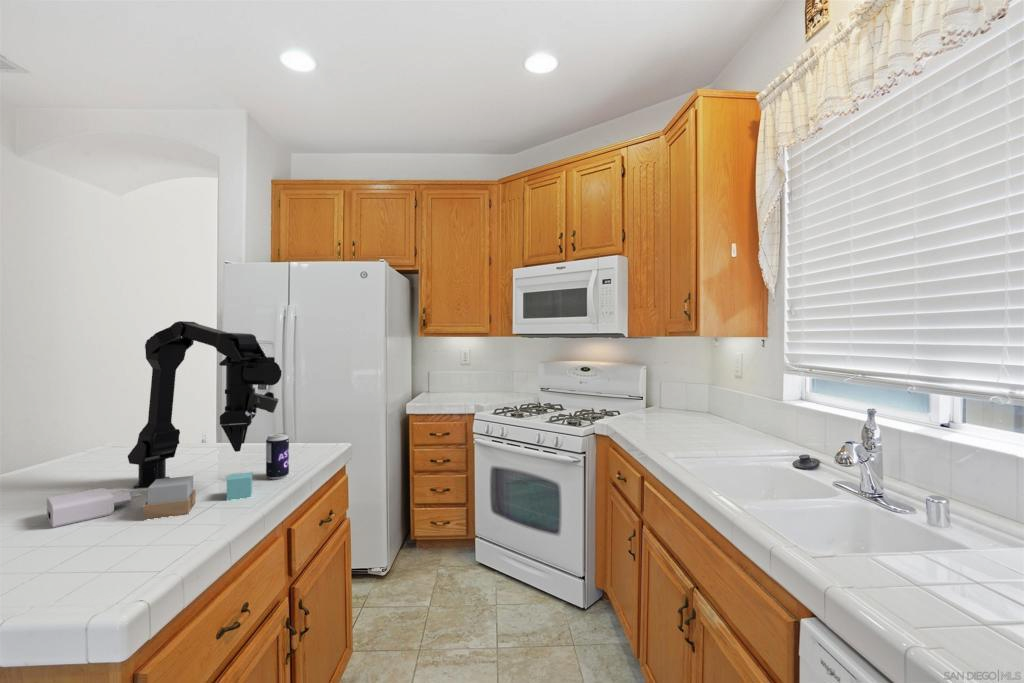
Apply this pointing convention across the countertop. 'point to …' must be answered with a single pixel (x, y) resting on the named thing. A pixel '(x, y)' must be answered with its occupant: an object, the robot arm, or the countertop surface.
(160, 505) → the tower base
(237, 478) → the teal cube
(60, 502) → the charger
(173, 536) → the countertop surface
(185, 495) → the tower top
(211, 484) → the countertop surface
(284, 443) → the beverage can
